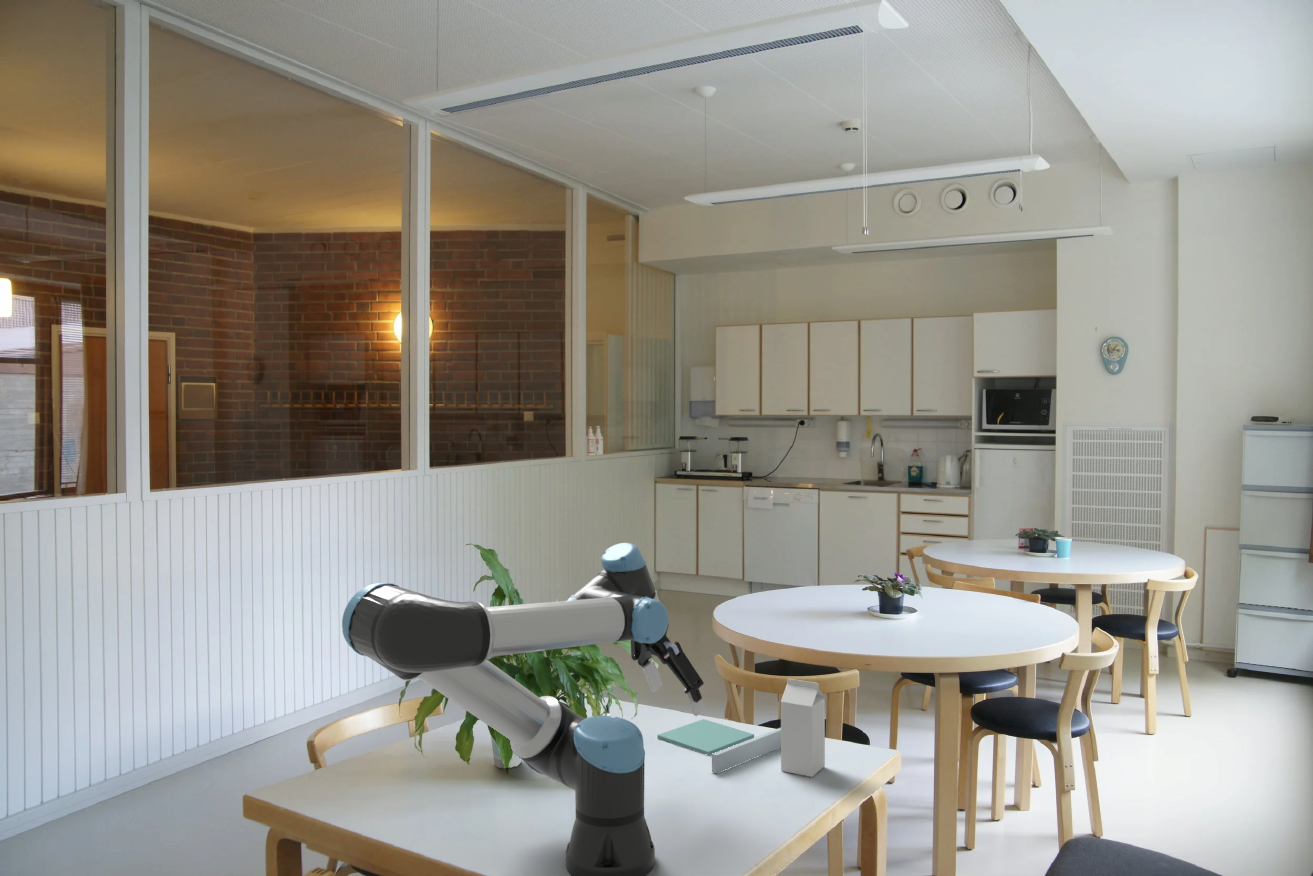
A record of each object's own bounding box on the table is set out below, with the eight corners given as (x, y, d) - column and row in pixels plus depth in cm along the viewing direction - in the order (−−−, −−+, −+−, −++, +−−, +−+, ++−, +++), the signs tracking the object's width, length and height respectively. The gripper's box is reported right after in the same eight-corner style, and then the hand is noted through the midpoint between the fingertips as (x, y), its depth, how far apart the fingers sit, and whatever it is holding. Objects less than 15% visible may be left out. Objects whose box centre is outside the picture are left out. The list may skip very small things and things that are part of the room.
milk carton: (812, 778, 198) (812, 687, 197) (780, 771, 201) (780, 682, 201) (825, 767, 204) (824, 679, 203) (794, 761, 207) (793, 674, 207)
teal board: (708, 755, 211) (708, 751, 211) (657, 738, 222) (657, 735, 222) (754, 737, 222) (754, 734, 222) (703, 722, 234) (703, 719, 234)
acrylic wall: (716, 774, 200) (716, 755, 200) (711, 772, 201) (711, 754, 201) (796, 741, 220) (796, 724, 220) (792, 740, 221) (792, 723, 220)
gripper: (700, 622, 176) (732, 709, 184) (621, 588, 195) (654, 668, 203) (670, 646, 172) (705, 734, 180) (593, 609, 191) (628, 690, 200)
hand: (678, 699), depth 192 cm, fingers open, 13 cm apart
